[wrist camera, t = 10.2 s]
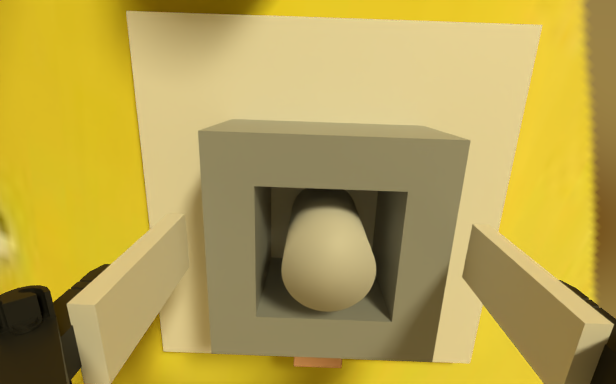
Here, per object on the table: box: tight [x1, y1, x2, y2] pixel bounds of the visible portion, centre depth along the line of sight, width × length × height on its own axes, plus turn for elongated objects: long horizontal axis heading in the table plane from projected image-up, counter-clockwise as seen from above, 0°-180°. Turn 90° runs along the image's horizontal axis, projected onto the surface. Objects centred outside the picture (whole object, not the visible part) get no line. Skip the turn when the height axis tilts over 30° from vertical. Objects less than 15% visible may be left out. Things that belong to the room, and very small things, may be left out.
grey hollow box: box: [198, 119, 471, 368], centre depth 19 cm, size 15×11×6 cm
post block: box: [126, 11, 542, 363], centre depth 18 cm, size 22×22×8 cm
